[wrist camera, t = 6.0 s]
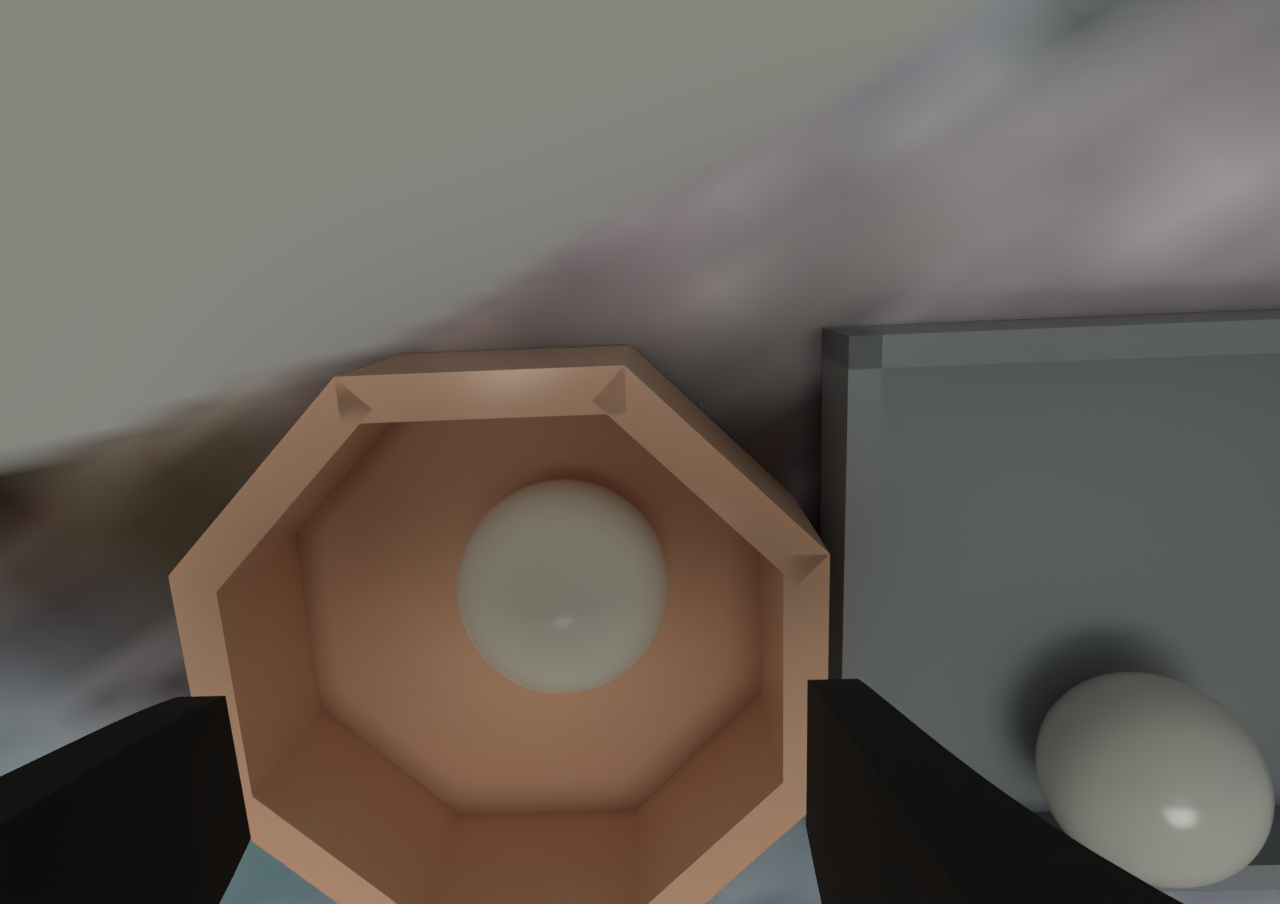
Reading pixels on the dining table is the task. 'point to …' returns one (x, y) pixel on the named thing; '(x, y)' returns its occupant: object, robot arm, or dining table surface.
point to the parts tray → (1055, 524)
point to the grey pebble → (1155, 779)
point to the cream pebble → (562, 586)
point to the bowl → (460, 678)
